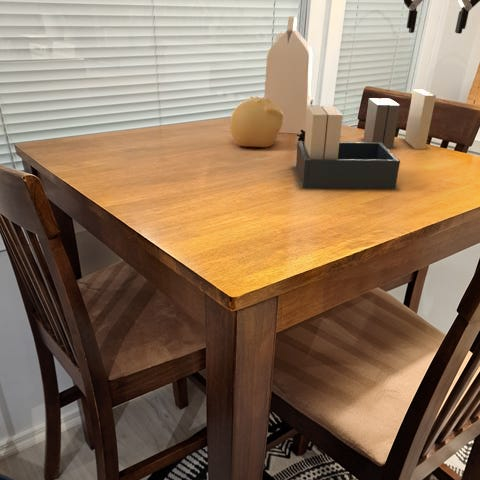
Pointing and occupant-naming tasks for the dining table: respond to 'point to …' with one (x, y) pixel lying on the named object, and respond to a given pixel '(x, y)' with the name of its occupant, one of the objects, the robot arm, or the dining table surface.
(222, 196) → the dining table surface
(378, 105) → the grey book
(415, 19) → the robot arm
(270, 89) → the milk
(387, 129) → the grey book
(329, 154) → the white book
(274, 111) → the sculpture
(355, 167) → the book box
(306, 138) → the white book
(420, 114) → the white book
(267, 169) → the dining table surface
